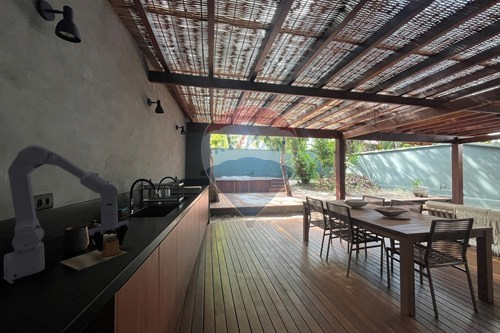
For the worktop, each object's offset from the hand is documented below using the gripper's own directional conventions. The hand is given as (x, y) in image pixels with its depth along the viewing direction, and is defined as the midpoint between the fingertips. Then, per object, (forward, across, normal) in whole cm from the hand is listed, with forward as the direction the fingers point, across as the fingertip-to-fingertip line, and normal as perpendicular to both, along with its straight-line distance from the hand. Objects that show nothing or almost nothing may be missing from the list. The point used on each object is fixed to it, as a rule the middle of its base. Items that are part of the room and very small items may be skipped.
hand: (110, 247), depth 88 cm
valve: (+4, +8, +18) cm, 20 cm away
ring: (+2, 0, 0) cm, 2 cm away
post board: (+3, -4, +2) cm, 6 cm away
